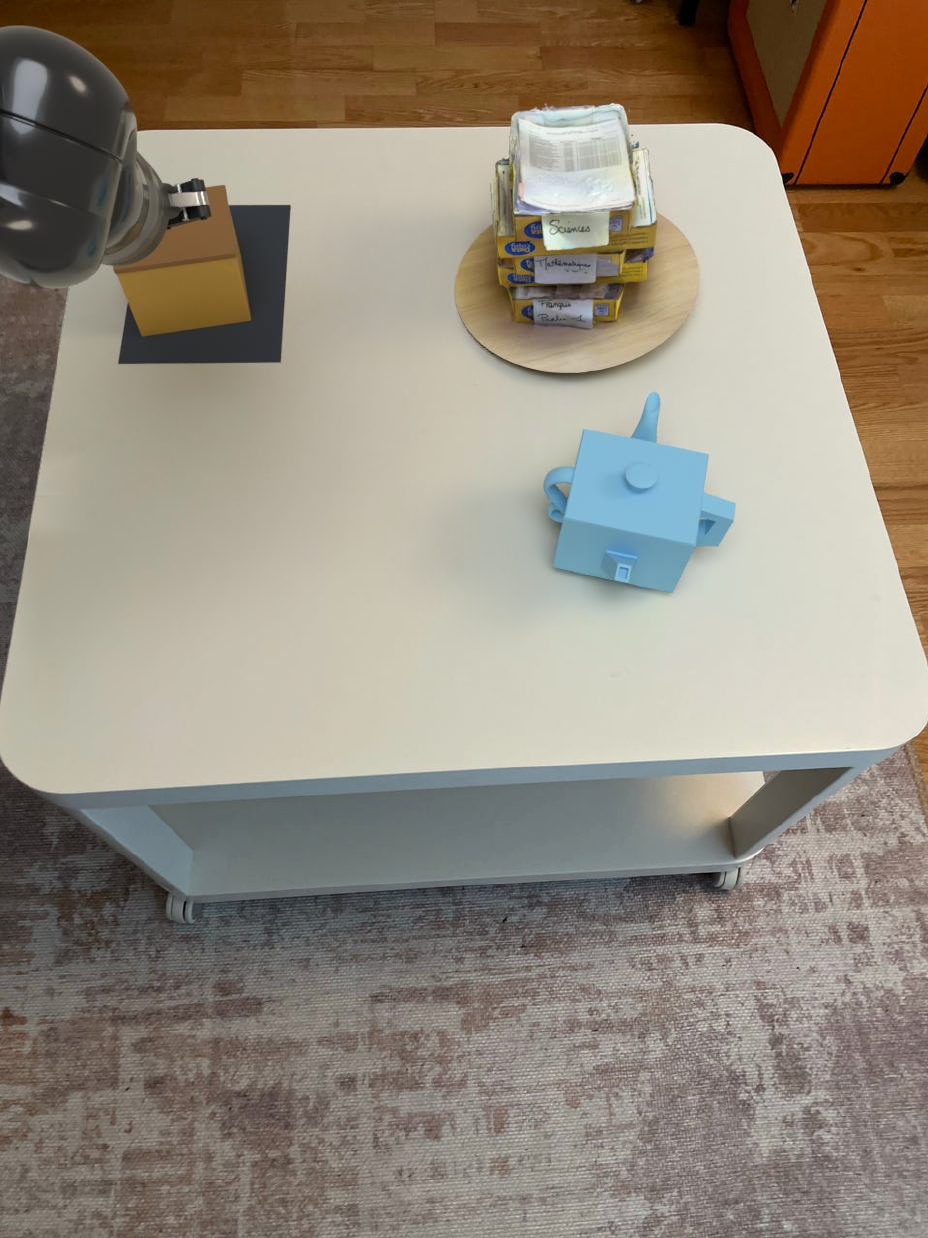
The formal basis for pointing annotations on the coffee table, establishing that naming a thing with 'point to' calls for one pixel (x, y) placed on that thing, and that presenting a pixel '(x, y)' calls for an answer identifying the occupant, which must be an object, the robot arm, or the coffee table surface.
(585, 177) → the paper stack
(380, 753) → the coffee table surface
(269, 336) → the mat
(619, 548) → the teapot
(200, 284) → the toy box
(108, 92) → the robot arm
